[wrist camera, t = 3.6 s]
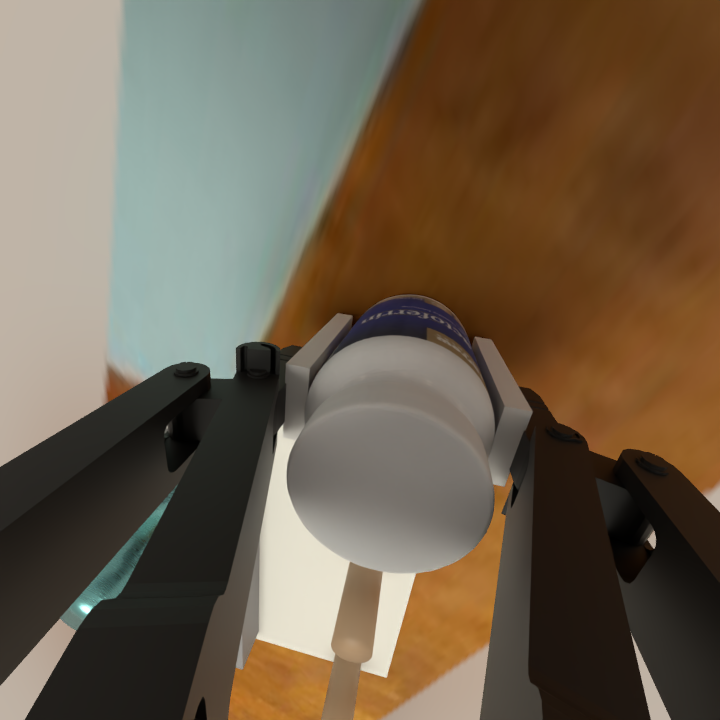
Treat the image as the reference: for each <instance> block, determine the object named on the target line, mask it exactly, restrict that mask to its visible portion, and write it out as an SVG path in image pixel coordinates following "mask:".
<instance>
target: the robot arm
mask: <svg viewBox="0 0 720 720" xmlns="http://www.w3.org/2000/svg"><path fill="white" fill-rule="evenodd" d="M352 319H353V316H352V315H346V314H341V313H337V314H336V315H335V316H334V317H333V318H332V319H331V320H330V321H329V322H328V323H327V324H326V325H325V326H324V327H323V328H322V329H321V330H320V331H319V332H318V333H317V334H316V335H315V336H314V337H313V338H312V339H311V340H310V341H309V342H308V343H306V344H305V345H304V346H303V347H299V346H294V345H292V346H289V347H286V348H283V349H282V350H280V348H279V347H277V346H276V345H273V344H270V343H265V342H250V343H244V344H241V345H239V346H238V347H237V348H236V374H235V376H234V378H233V379H211V378H210V368H209V367H207V366H206V365H203V364H200V363H193V362H187V363H186V362H182V363H180V364H175V365H172V366H169V367H167V368H165V369H163V370H162V371H160V372H158V373H157V374H155V375H153V376H152V377H150V378H148V379H147V380H145V381H143V382H142V383H140V384H138V385H137V386H135V387H133V388H132V389H130V390H128V391H127V392H125V393H123V394H122V395H120V396H118V397H117V398H115V399H113V400H112V401H110V402H108V403H106V404H105V405H103V406H101V407H100V408H98V409H97V410H95V411H93V412H91V413H90V414H88V415H86V416H85V417H84V418H81V419H80V420H78V421H76V422H75V423H73V424H72V425H70V426H68V427H66V428H65V429H63V430H61V431H60V432H58V433H56V434H55V435H53V436H51V437H50V438H48V439H46V440H45V441H43V442H41V443H39V444H38V445H36V446H35V447H33V448H31V449H29V450H28V451H26V452H24V453H23V454H21V455H19V456H18V457H16V458H14V459H13V460H11V461H9V462H8V463H6V464H4V465H3V466H1V467H0V685H1V684H2V683H3V682H4V681H5V680H6V679H7V677H8V676H9V675H10V674H11V673H12V672H13V671H14V670H15V668H16V667H17V666H18V665H19V664H20V663H21V662H22V660H23V659H24V658H25V657H26V656H27V655H28V654H29V653H30V651H31V650H32V649H33V648H34V647H35V646H36V645H37V644H38V642H39V641H40V640H41V639H42V638H43V637H44V636H45V634H46V633H47V632H48V631H49V630H50V628H52V626H53V625H54V624H55V623H56V622H57V621H58V620H59V619H60V617H61V616H62V615H63V614H64V613H65V612H66V611H67V609H68V608H69V607H70V606H71V605H72V604H73V603H74V602H75V600H76V599H77V598H78V597H79V596H80V595H81V594H82V592H83V591H84V590H85V589H86V588H87V587H88V586H89V585H90V583H91V582H92V581H93V580H94V579H95V578H96V577H97V575H98V574H99V573H100V572H101V571H102V570H103V569H104V567H105V566H106V565H107V564H108V563H109V562H110V561H111V560H112V558H113V557H114V556H115V555H116V554H117V553H118V552H119V550H120V549H121V548H122V547H123V546H124V545H125V544H126V543H127V541H128V540H129V539H130V538H131V537H132V536H133V535H134V533H135V532H136V531H137V530H138V529H139V528H140V527H141V526H142V524H143V523H144V522H145V521H146V520H147V519H148V518H149V516H150V515H151V514H152V513H153V512H154V511H155V510H156V509H157V507H158V506H159V505H160V504H161V503H162V502H163V501H164V499H165V498H166V497H167V496H168V495H169V494H170V493H171V491H172V490H173V489H174V488H175V487H176V486H177V485H178V486H177V488H176V489H175V491H174V493H173V495H172V497H171V499H170V501H169V503H168V505H167V507H166V509H165V511H164V512H163V514H162V516H161V518H160V520H159V522H158V524H157V526H156V528H155V530H154V532H153V534H152V536H151V537H150V539H149V541H148V543H147V545H146V547H145V549H144V551H143V553H142V555H141V557H140V559H139V560H138V562H137V564H136V566H135V568H134V570H133V572H132V574H131V576H130V578H129V580H128V582H127V583H126V585H125V587H124V588H123V590H122V591H121V593H120V594H119V595H118V596H117V597H116V598H112V599H105V600H101V601H100V602H99V603H98V604H97V605H96V606H94V607H93V608H92V609H91V610H90V612H89V613H88V614H87V616H86V617H85V619H84V620H83V622H82V623H81V625H80V626H79V628H78V629H77V631H76V633H75V634H74V636H73V638H72V639H71V641H70V643H69V645H68V646H67V648H66V650H65V651H64V653H63V655H62V657H61V658H60V660H59V662H58V663H57V665H56V667H55V669H54V670H53V672H52V674H51V675H50V677H49V679H48V681H47V682H46V684H45V686H44V688H43V689H42V691H41V693H40V695H39V696H38V698H37V700H36V701H35V703H34V705H33V706H32V708H31V710H30V712H29V713H28V715H27V717H26V719H25V720H228V713H229V703H230V696H231V690H232V684H233V678H234V673H235V668H236V662H237V657H238V651H239V646H240V641H241V635H242V630H243V624H244V619H245V614H246V608H247V603H248V598H249V592H250V587H251V581H252V576H253V571H254V565H255V560H256V554H257V549H258V544H259V538H260V533H261V527H262V522H263V517H264V511H265V506H266V501H267V495H268V490H269V484H270V479H271V474H272V468H273V463H274V457H275V452H276V447H277V435H278V430H279V429H280V427H281V426H282V425H283V438H287V439H292V440H297V438H298V436H299V434H300V433H301V431H302V429H303V428H304V426H305V404H306V399H307V396H308V392H309V389H310V387H311V385H312V382H313V380H314V379H315V377H316V375H317V374H318V372H319V371H320V369H321V367H322V366H323V364H324V363H325V362H326V361H327V360H328V358H329V357H330V356H331V355H332V353H333V352H334V351H335V349H336V348H337V347H338V345H339V344H340V343H341V342H342V340H343V339H344V338H345V337H346V335H347V334H348V333H349V331H350V330H351V328H352ZM472 350H473V353H474V355H475V358H476V360H477V363H478V366H479V369H480V372H481V374H482V377H483V380H484V382H485V385H486V388H487V391H488V394H489V396H490V400H491V404H492V408H493V412H494V421H495V434H494V441H493V446H492V449H491V452H490V455H489V458H488V462H489V467H490V472H491V476H492V482H493V484H495V485H499V486H504V487H505V484H506V481H507V479H508V476H509V473H510V472H511V475H512V478H513V481H514V482H513V485H512V488H511V490H510V493H509V495H508V498H507V500H506V503H505V506H504V508H503V511H502V513H501V514H504V515H506V520H505V528H504V536H503V543H502V551H501V559H500V567H499V574H498V582H497V590H496V598H495V605H494V613H493V621H492V629H491V637H490V644H489V652H488V660H487V668H486V676H485V684H484V692H483V699H482V707H481V714H480V720H651V719H650V715H649V710H648V706H647V702H646V697H645V693H644V688H643V684H642V680H641V675H640V671H639V667H638V662H637V658H636V653H635V649H634V645H633V641H632V636H633V638H634V640H635V642H636V644H637V646H638V649H639V651H640V653H641V655H642V657H643V660H644V662H645V664H646V666H647V668H648V670H649V673H650V675H651V677H652V679H653V681H654V683H655V686H656V688H657V690H658V692H659V694H660V697H661V699H662V701H663V703H664V705H665V707H666V710H667V712H668V714H669V716H670V718H671V720H720V512H719V511H718V510H717V509H716V508H715V507H714V506H713V505H712V504H711V503H710V502H709V501H708V500H707V499H706V498H705V497H704V496H703V494H702V493H701V492H700V491H699V490H698V489H697V488H696V487H695V486H694V485H693V484H692V483H691V482H690V481H689V480H688V479H687V478H686V477H685V476H684V475H683V474H682V473H681V472H680V471H679V470H678V469H677V468H675V467H674V466H673V465H671V464H670V463H668V462H666V461H665V460H664V459H663V458H661V457H659V456H657V455H656V456H654V455H655V454H652V453H649V452H643V451H640V450H634V449H626V450H623V451H622V453H621V455H620V457H619V458H618V460H617V461H616V460H613V459H611V458H608V457H605V456H602V455H599V454H597V453H594V452H592V451H589V448H588V444H587V441H586V440H585V438H584V437H583V436H582V435H581V434H579V433H578V432H577V431H575V430H573V429H572V428H570V427H568V426H565V425H562V424H560V423H557V421H556V420H555V418H554V417H553V415H552V414H551V412H550V411H548V408H547V406H546V405H544V402H543V400H542V399H541V397H540V396H539V395H538V394H536V393H535V392H534V391H532V390H531V389H529V388H524V387H519V386H518V385H517V383H516V381H515V380H514V378H513V376H512V374H511V373H510V371H509V369H508V368H507V366H506V364H505V362H504V361H503V359H502V357H501V355H500V354H499V352H498V350H497V348H496V347H495V345H494V343H493V341H492V340H491V339H486V338H480V337H474V340H473V344H472ZM167 426H168V431H167V432H166V433H165V430H166V427H167ZM164 433H165V434H164ZM653 530H654V531H655V535H656V547H655V549H653V548H652V546H651V545H650V543H649V541H648V540H647V539H648V538H649V536H650V535H651V533H652V532H653ZM630 631H631V632H630ZM631 633H632V636H631Z"/></svg>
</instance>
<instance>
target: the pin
mask: <svg viewBox="0 0 720 720" xmlns="http://www.w3.org/2000/svg"><path fill="white" fill-rule="evenodd" d="M177 486H178V485H177ZM177 486H176V487H175V488H174V489H173V490H172V491H171V493H170V494H169V495H168V496H167V497H166V498H165V499H164V501H163V502H162V503H161V504H160V505H159V506H158V507H157V509H156V510H155V511H154V512H153V513H152V514H151V515H150V516H149V518H148V519H147V520H146V521H145V522H144V523H143V524H142V526H141V527H140V528H139V529H138V530H137V531H136V532H135V533H134V535H133V536H132V537H131V538H130V539H129V540H128V541H127V543H126V544H125V545H124V546H123V547H122V548H121V549H120V550H119V552H118V553H117V554H116V555H115V556H114V557H113V558H112V560H111V561H110V562H109V563H108V564H107V565H106V566H105V567H104V569H103V570H102V571H101V572H100V573H99V574H98V575H97V577H96V578H95V579H94V580H93V581H92V582H91V583H90V585H89V586H88V587H87V588H86V589H85V590H84V591H83V592H82V594H81V595H80V596H79V597H78V598H77V599H76V600H75V602H74V603H73V604H72V605H71V606H70V607H69V608H68V609H67V611H66V612H65V613H64V614H63V615H62V616H61V617H60V619H61V620H62V621H63V622H65V623H66V624H67V625H68V626H70V627H71V628H73V629H75V630H76V631H77V629H78V628H79V626H80V625H81V623H82V622H83V620H84V619H85V617H86V616H87V614H88V613H89V612H90V610H91V609H92V608H93V607H94V606H96V605H97V604H98V603H99V602H100V601H101V600H105V599H112V598H116V597H117V596H118V595H119V594H120V593H121V591H122V590H123V588H124V587H125V585H126V583H127V582H128V580H129V578H130V576H131V574H132V572H133V570H134V568H135V566H136V564H137V562H138V560H139V559H140V557H141V555H142V553H143V551H144V549H145V547H146V545H147V543H148V541H149V539H150V537H151V536H152V534H153V532H154V530H155V528H156V526H157V524H158V522H159V520H160V518H161V516H162V514H163V512H164V511H165V509H166V507H167V505H168V503H169V501H170V499H171V497H172V495H173V493H174V491H175V489H176V488H177Z"/></svg>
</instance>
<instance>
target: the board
mask: <svg viewBox="0 0 720 720" xmlns="http://www.w3.org/2000/svg"><path fill="white" fill-rule="evenodd" d="M167 431H168V426H167V427H166V430H165V433H166V432H167ZM165 433H164V434H165ZM295 441H296V440H292V439H287V438H283V425H282V426H281V427H280V429H279V430H278V435H277V447H276V452H275V457H274V463H273V468H272V474H271V479H270V484H269V490H268V495H267V501H266V506H265V511H264V517H263V522H262V527H261V533H260V538H259V544H258V549H257V554H256V560H255V565H254V571H253V576H252V581H251V587H250V592H249V598H248V603H247V608H246V614H245V619H244V624H243V630H242V635H241V641H240V646H239V651H238V657H237V662H236V668H239V669H242V670H243V668H244V666H245V663H246V661H247V658H248V656H249V654H250V651H251V649H252V646H253V644H254V641H255V639H259V640H262V641H266V642H269V643H272V644H276V645H279V646H282V647H286V648H289V649H292V650H296V651H299V652H302V653H306V654H309V655H312V656H316V657H319V658H322V659H326V660H329V661H332V662H333V666H332V671H331V676H330V680H329V685H328V690H327V694H326V699H325V704H324V708H323V713H322V718H321V720H353V716H354V710H355V703H356V696H357V689H358V683H359V676H360V670H362V671H366V672H369V673H372V674H376V675H379V676H382V677H385V678H386V677H387V674H388V670H389V667H390V663H391V660H392V656H393V653H394V649H395V646H396V642H397V638H398V635H399V631H400V628H401V624H402V621H403V617H404V614H405V610H406V607H407V603H408V599H409V596H410V592H411V589H412V585H413V582H414V578H415V575H416V573H408V574H397V573H388V572H382V571H377V570H373V569H369V568H365V567H362V566H359V565H357V564H354V563H352V562H350V561H348V560H346V559H344V558H342V557H340V556H338V555H337V554H335V553H334V552H332V551H331V550H329V549H328V548H327V547H325V546H324V545H323V544H321V543H320V542H319V541H318V540H317V539H316V538H315V537H314V536H313V535H312V534H311V533H310V532H309V531H308V530H307V529H306V527H305V526H304V525H303V523H302V522H301V520H300V518H299V517H298V515H297V513H296V511H295V509H294V507H293V504H292V502H291V499H290V496H289V492H288V488H287V463H288V459H289V455H290V452H291V450H292V448H293V445H294V443H295Z"/></svg>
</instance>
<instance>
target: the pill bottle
mask: <svg viewBox="0 0 720 720" xmlns="http://www.w3.org/2000/svg"><path fill="white" fill-rule="evenodd" d="M494 434H495V421H494V412H493V408H492V404H491V400H490V396H489V394H488V391H487V388H486V385H485V382H484V380H483V377H482V374H481V372H480V369H479V366H478V363H477V360H476V358H475V355H474V353H473V350H472V347H471V344H470V341H469V338H468V336H467V333H466V331H465V329H464V327H463V325H462V324H461V322H460V321H459V319H458V318H457V317H456V315H455V314H454V313H453V312H452V311H451V310H449V309H448V308H447V307H446V306H444V305H443V304H441V303H440V302H438V301H436V300H434V299H431V298H428V297H425V296H420V295H397V296H393V297H389V298H386V299H384V300H382V301H380V302H378V303H376V304H375V305H373V306H372V307H371V308H369V309H368V310H367V311H366V312H365V313H364V314H363V315H362V316H361V317H360V318H359V320H358V321H357V322H356V323H355V325H354V326H353V327H352V329H351V330H350V331H349V333H348V334H347V335H346V337H345V338H344V339H343V340H342V342H341V343H340V344H339V345H338V347H337V348H336V349H335V351H334V352H333V353H332V355H331V356H330V357H329V358H328V360H327V361H326V362H325V363H324V364H323V366H322V367H321V369H320V371H319V372H318V374H317V375H316V377H315V379H314V380H313V382H312V385H311V387H310V389H309V392H308V396H307V399H306V404H305V426H304V428H303V429H302V431H301V433H300V434H299V436H298V438H297V440H296V441H295V443H294V445H293V448H292V450H291V452H290V455H289V459H288V463H287V488H288V492H289V496H290V499H291V502H292V504H293V507H294V509H295V511H296V513H297V515H298V517H299V518H300V520H301V522H302V523H303V525H304V526H305V527H306V529H307V530H308V531H309V532H310V533H311V534H312V535H313V536H314V537H315V538H316V539H317V540H318V541H319V542H320V543H321V544H323V545H324V546H325V547H327V548H328V549H329V550H331V551H332V552H334V553H335V554H337V555H338V556H340V557H342V558H344V559H346V560H348V561H350V562H352V563H354V564H357V565H359V566H362V567H365V568H369V569H373V570H377V571H382V572H388V573H397V574H408V573H422V572H428V571H433V570H436V569H439V568H442V567H444V566H448V565H450V564H452V563H454V562H456V561H458V560H460V559H461V558H463V557H464V556H465V555H467V554H468V553H469V552H470V551H472V550H473V549H474V548H475V547H476V546H477V544H478V543H479V542H480V541H481V539H482V538H483V536H484V535H485V534H486V532H487V529H488V528H489V525H490V522H491V519H492V516H493V511H494V502H495V501H494V487H493V482H492V476H491V472H490V467H489V462H488V458H489V455H490V452H491V449H492V446H493V441H494Z"/></svg>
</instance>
